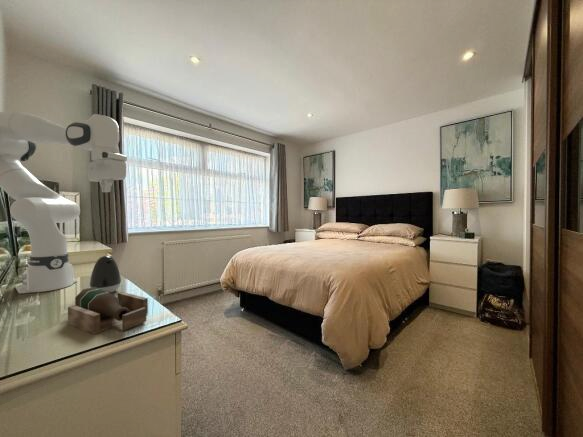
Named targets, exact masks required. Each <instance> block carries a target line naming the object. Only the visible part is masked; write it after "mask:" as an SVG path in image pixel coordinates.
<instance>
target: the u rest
mask: <svg viewBox="0 0 583 437" xmlns="http://www.w3.org/2000/svg"><path fill="white" fill-rule="evenodd" d="M117 298H118V299H119V305H120V306H121V307H126V308H127V309H129V313H126V314H124V315H122V320H121V321H118V320H116V319H115V318H113V317H106V318H103V319H100V314H99V313H96V312H93V311H90V310H87V309H84V308H81V307H78V306H75V304H73V305H70V306H68V307H67V324H68V325H70V326H72V327H75V328H77V329H80V330H81V331H84V332H87V333H89V334H91V335H93V336H94V335H96V334H100V333H102V332H105V331H107V330H109V329H116V330H118V331H121V332H124V331H127V330H129V329H131V328H132V329H133V328H134V327H136V326H139V325H141V324H143V322H144V323H145V322H147V314H146V313H148V314H149V308H148V307H149V306H148V305H149V302H148V297H144V296H140V295H136V294H132V293H128V292H124V291H120V292H117Z"/></svg>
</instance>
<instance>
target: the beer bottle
mask: <svg viewBox="0 0 583 437" xmlns="http://www.w3.org/2000/svg"><path fill="white" fill-rule="evenodd" d="M74 300H75V302H74V303H75V304H74V305H75V306H78V307H81V308H84V309H87V310H90V311H93V312H96V313H99V314H100V319H103V318H106V317H113V318H115V319H116V320H118V321H121V320H122V315H124V314H126V313H129V309H127V308H126V307H121V306H120V305H119V299H118V296H115V295H114V294H112V293H109V292H106V291H104V290H101V289H99V288H96V287H92V288H91V287H89V288H84V289H82V290H81V291H80V292H79V293H78V294H77V295H76V296H75V298H74Z"/></svg>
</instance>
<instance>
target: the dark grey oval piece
mask: <svg viewBox="0 0 583 437" xmlns="http://www.w3.org/2000/svg"><path fill="white" fill-rule="evenodd" d="M121 283H122V277H121V272H120V268H119V266H118V264H117V262H116V260H115V259H114V258H113V257H112V256H110V255H103V256H100V257H99V258H98V259H97V261H96V262H95V264H94V265H93V268H92V272H91V276H90V279H89V288H92V287H96V288H99V289H101V290H104V291H106V292H109V293H110V294H112V293H115V291H117V290H119V288H120V285H121Z"/></svg>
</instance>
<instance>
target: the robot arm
mask: <svg viewBox="0 0 583 437" xmlns="http://www.w3.org/2000/svg"><path fill="white" fill-rule="evenodd" d="M36 143H43V144H45V143H46V144H59V145H69V146H74V147H76V148H79V149H82V150H86V151H89V152H91V158H90V160H91V162H89V164H88V167H87V180H88V181H89V182H94V183H98V182H99V185H100V187H101V192H102V193H110V192H112V185H113V181H120V180H121V181H122V180H123V181H124V180H125V179H126V178H127V163H126V162H127V160H128V157H127V155H124V154H122V153H120V148H119V143H120V129H119V124H118V122H117V121H116V119H114V118H112V117H110V116H107V115H104V114H100V113H93V114H92V115H90V117H89V118H88V119H86V120H83V121H80V122H72V123H70V124H69V125H67V127H65V126H63V125H61V124H58V123H56V122H53V121H52V120H49V119H47V118H44V117H42V116H39V115H37V114H33V113H30V112H24V111H23V112H22V111H15V110H14V111H13V110H12V111H11V110H9V111H8V110H7V111H6V110H5V111H0V188H1V189H2V191H4V192H5V193H6V194H7V195H8V196H9V197H10V198H12V200H14V201H13V202H12V204H11V205H10V209H9V212H10V215H11V217H12V218H13V219H14V220H15V221H16V222H18V223H20V224H21V225H22V226H23V227H24V228H25V230H26V233H27V234H28V237H29V240H30V256H29V259H28V265H29V266H28V267H27V268H26V270H24V271H23V273H22V274H20V275H18V277H17V278H18V279H17V280H18V281H19V282H21V281H22V282H21V283H17V284H15V285H14V287H15V289H16V291H17V293H18V294H29V293H42V292H49V291H54V290H59V289H60V290H61V289H63V288H68V287H70V286H72V285H73V284H75V283H78V279H77V278H75V277H74V268H73V266H74V265H73V264H71V263H69V262H70V261H69V258H70V256H69V253H68V238H67V237H68V236H66V235H65V234H64V233H63V232H61V231H60V229H59V227H58V224H60V223H61V224H63V223H68V222H71V221H75V220H76V219H78V218H79V216H80V214H81V208H80V207H81V206H79V204H78V203H77V202H74V201H73V200H70V199H68V198H66V197H64V196H62V195H61V194H59V193H58V192H56V191H54V190H53V189H51V188H50V187H48V186H46V184H43V183H42V182H41V181H40V180H39V179H38V178H36V176H35V175H34V174H32V173H31V172H30V171H29V170H28V169H27V168H26V167H25V166H24V165H23V164H22V163H21V162H26V161H28V160H29V158H30V157H32V156H33V155H34V153H35V152H36V150H37V144H36Z"/></svg>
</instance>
